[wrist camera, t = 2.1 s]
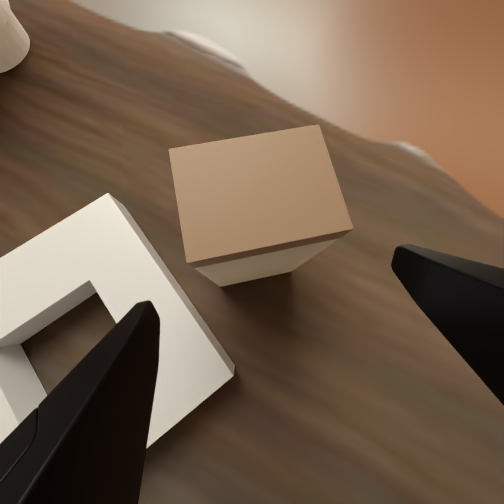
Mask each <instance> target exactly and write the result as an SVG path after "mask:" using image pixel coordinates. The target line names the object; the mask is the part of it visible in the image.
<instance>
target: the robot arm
mask: <svg viewBox="0 0 504 504" xmlns="http://www.w3.org/2000/svg"><path fill="white" fill-rule="evenodd" d="M391 267H392V270H393V272H394V273H395V274H396V276H397V277H398V279H399V280H400V281H401V283H402V284H403V286H404V287H405V289H406V290H407V291H408V293H409V294H410V296H411V297H412V298H413V300H414V301H415V303H416V304H417V305H418V306H419V307H420V309H421V310H422V311H423V312H424V313H425V315H426V316H427V317H428V318H429V319H430V320H431V322H432V323H433V324H434V325H435V326H436V327H437V328H438V330H439V331H440V332H441V333H442V334H443V335H444V337H445V338H446V339H447V340H448V341H449V342H450V344H451V345H452V346H453V347H454V348H455V349H456V351H457V352H458V353H459V354H460V355H461V356H462V358H463V359H464V360H465V361H466V362H467V363H468V365H469V366H470V367H471V368H472V369H473V370H474V371H475V373H476V374H477V375H478V376H479V377H480V378H481V380H482V381H483V382H484V383H485V384H486V385H487V387H488V388H489V389H490V390H491V391H492V392H493V394H494V395H495V396H496V397H497V398H498V399H499V401H500V402H501V403H502V404H503V405H504V269H503V268H499V267H495V266H491V265H488V264H484V263H480V262H476V261H472V260H468V259H464V258H461V257H457V256H453V255H449V254H445V253H441V252H438V251H434V250H430V249H426V248H422V247H418V246H414V245H411V244H406V245H401V246H398V247H396V249H395V251H394V255H393V259H392V263H391ZM159 347H160V317H159V315H158V313H157V311H156V309H155V307H154V305H153V303H152V302H151V301H150V300H146V301H142V302H138V303H136V304H135V305H134V306H133V307H132V308H131V309H130V310H129V311H128V312H127V314H126V315H125V316H124V317H123V318H122V319H121V320H120V321H119V322H118V323H117V324H116V325H115V326H114V327H113V328H112V329H111V330H110V331H109V332H108V333H107V334H106V335H105V336H104V337H103V338H102V339H101V340H100V341H99V343H98V344H97V345H96V346H95V347H94V348H93V349H92V350H91V351H90V352H89V353H88V354H87V355H86V356H85V357H84V358H83V359H82V360H81V361H80V362H79V363H78V364H77V365H76V366H75V367H74V368H73V369H72V370H71V372H70V373H69V374H68V375H67V376H66V377H65V378H64V379H63V380H62V381H61V382H60V383H59V384H58V385H57V386H56V387H55V388H54V389H53V390H52V391H51V392H50V393H49V394H48V395H47V396H46V397H45V398H44V399H43V400H42V402H41V403H40V404H39V405H38V407H37V408H35V409H34V410H33V411H32V412H31V413H30V414H29V415H28V416H27V417H26V418H25V419H24V420H23V421H22V422H21V423H20V424H19V425H18V426H17V427H16V428H15V429H14V430H13V431H12V432H11V433H10V434H9V435H8V436H7V437H6V438H5V439H4V440H3V441H2V442H1V443H0V504H138V501H139V494H140V487H141V481H142V474H143V467H144V461H145V454H146V447H147V441H148V434H149V427H150V421H151V414H152V407H153V401H154V394H155V388H156V381H157V374H158V366H159Z"/></svg>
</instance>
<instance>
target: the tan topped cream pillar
mask: <svg viewBox="0 0 504 504" xmlns="http://www.w3.org/2000/svg"><path fill="white" fill-rule="evenodd" d="M169 154H170V160H171V167H172V173H173V179H174V186H175V192H176V198H177V205H178V211H179V217H180V224H181V230H182V236H183V242H184V249H185V255H186V261H187V263H188V264H189V265H190V266H192V267H193V268H195V269H196V270H197V271H199V272H200V273H202V274H203V275H204V276H206V277H207V278H209V279H210V280H211V281H213V282H214V283H216V284H217V285H218V286H220V287H222V286H227V285H231V284H236V283H241V282H245V281H250V280H254V279H259V278H264V277H268V276H273V275H278V274H282V273H287V272H292V271H293V270H294V269H296V268H297V267H299V266H300V265H302V264H303V263H305V262H306V261H307V260H309V259H310V258H312V257H313V256H315V255H316V254H318V253H319V252H320V251H322V250H323V249H325V248H326V247H328V246H329V245H331V244H332V243H333V242H335V241H336V240H338V239H339V238H341V237H342V236H344V235H345V234H347V233H348V232H349V231H351V230H352V229H353V226H352V223H351V220H350V217H349V214H348V211H347V208H346V205H345V202H344V199H343V196H342V193H341V190H340V187H339V184H338V181H337V178H336V175H335V172H334V168H333V165H332V162H331V159H330V156H329V153H328V150H327V147H326V144H325V141H324V138H323V135H322V132H321V129H320V126H319V124H318V125H312V126H305V127H299V128H293V129H287V130H281V131H275V132H269V133H263V134H257V135H251V136H245V137H239V138H232V139H226V140H220V141H214V142H208V143H202V144H196V145H190V146H184V147H178V148H172V149H169Z"/></svg>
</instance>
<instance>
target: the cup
mask: <svg viewBox="0 0 504 504" xmlns="http://www.w3.org/2000/svg"><path fill="white" fill-rule="evenodd" d="M29 49H30V40H29V37H28V34H27V33H26V32H25V30H24V29H23V27H22V26H21V24H20V23H19V21H18V20H17V18H16V17H15V16H14V14H13V13H12V11H11V10H10V5H9V1H8V0H0V73H3V72H6V71H8V70H10V69H12V68H14V67H15V66H17V65H18V64H19V63H20V62H22V60H23V59H24V58H25V57H26V55H27V53H28V51H29Z"/></svg>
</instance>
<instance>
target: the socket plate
mask: <svg viewBox="0 0 504 504" xmlns="http://www.w3.org/2000/svg"><path fill="white" fill-rule="evenodd" d="M96 292H97V293H98V294H99V296H100V297H101V299H102V301H103V302H104V304H105V306H106V307H107V309H108V310H109V312H110V314H111V315H112V317H113V318H114V320H115V322H116V323H118V322H119V321H120V320H121V319H122V318H123V317H124V316H125V315H126V314H127V312H128V311H129V310H130V309H131V308H132V307H133V306H134V305H135V304H136V303H138V302H142V301H146V300H150V301H151V302H152V303H153V305H154V307H155V309H156V311H157V313H158V315H159V317H160V347H159V366H158V374H157V381H156V388H155V394H154V401H153V407H152V414H151V421H150V427H149V434H148V441H147V447H146V448H148V447H149V446H150V445H151V444H152V443H154V442H155V441H156V440H157V439H158V438H160V437H161V436H162V435H163V434H164V433H166V432H167V431H168V430H169V429H170V428H172V427H173V426H174V425H175V424H176V423H178V422H179V421H180V420H181V419H182V418H184V417H185V416H186V415H187V414H188V413H190V412H191V411H192V410H193V409H194V408H196V407H197V406H198V405H199V404H200V403H202V402H203V401H204V400H205V399H206V398H208V397H209V396H210V395H211V394H212V393H214V392H215V391H216V390H217V389H218V388H220V387H221V386H222V385H223V384H224V383H226V382H227V381H228V380H229V379H230V378H232V377H233V376H234V369H235V365H234V363H233V362H232V361H231V359H230V358H229V356H228V355H227V353H226V352H225V350H224V349H223V348H222V346H221V345H220V343H219V342H218V340H217V339H216V337H215V336H214V335H213V333H212V332H211V330H210V329H209V327H208V326H207V324H206V323H205V322H204V320H203V319H202V317H201V316H200V314H199V313H198V312H197V310H196V309H195V307H194V306H193V304H192V303H191V301H190V300H189V299H188V297H187V296H186V294H185V293H184V291H183V290H182V288H181V287H180V286H179V284H178V283H177V281H176V280H175V278H174V277H173V275H172V274H171V273H170V271H169V270H168V268H167V267H166V265H165V264H164V262H163V261H162V260H161V258H160V257H159V255H158V254H157V252H156V251H155V249H154V248H153V247H152V245H151V244H150V242H149V241H148V239H147V238H146V236H145V235H144V234H143V232H142V231H141V229H140V228H139V226H138V225H137V223H136V222H135V221H134V219H133V218H132V216H131V215H130V213H129V212H128V210H127V209H126V208H125V206H123V205H122V204H121V203H120V202H119V201H117V200H116V199H115V198H114V197H112V196H111V195H110V194H109V193H107V194H105V195H104V196H102V197H100V198H99V199H97V200H96V201H94V202H92V203H91V204H89V205H87V206H86V207H84V208H82V209H81V210H79V211H77V212H76V213H74V214H72V215H71V216H69V217H67V218H66V219H64V220H63V221H61V222H59V223H58V224H56V225H54V226H53V227H51V228H49V229H48V230H46V231H44V232H43V233H41V234H39V235H38V236H36V237H34V238H33V239H31V240H29V241H28V242H26V243H25V244H23V245H21V246H20V247H18V248H16V249H15V250H13V251H11V252H10V253H8V254H6V255H5V256H3V257H1V258H0V443H1V442H2V441H3V440H4V439H5V438H6V437H7V436H8V435H9V434H10V433H11V432H12V431H13V430H14V429H15V428H16V427H17V426H18V425H19V424H20V423H21V422H22V421H23V420H24V419H25V418H26V417H27V416H28V415H29V414H30V413H31V412H32V411H33V410H34V409H35V408H37V407H38V405H39V404H40V403H41V402H42V400H43V399H44V398H45V397H46V396H47V394H46V392H45V390H44V388H43V386H42V384H41V382H40V380H39V379H38V377H37V375H36V373H35V371H34V369H33V367H32V365H31V363H30V362H29V360H28V358H27V356H26V354H25V352H24V350H23V348H22V346H21V345H20V344H21V343H22V342H24V341H25V340H27V339H28V338H30V337H31V336H33V335H34V334H36V333H37V332H39V331H40V330H42V329H43V328H45V327H46V326H48V325H49V324H51V323H52V322H53V321H55V320H56V319H58V318H59V317H61V316H62V315H64V314H65V313H67V312H68V311H70V310H71V309H73V308H74V307H76V306H77V305H79V304H80V303H81V302H83V301H84V300H86V299H87V298H89V297H90V296H92V295H93V294H95V293H96Z"/></svg>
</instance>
